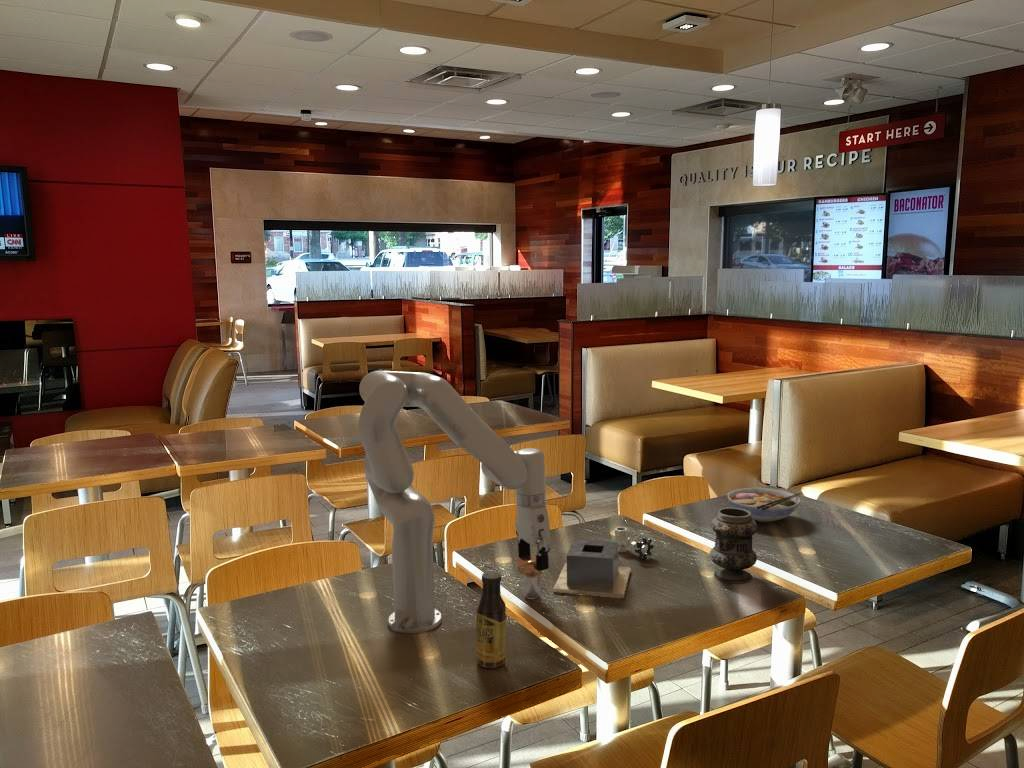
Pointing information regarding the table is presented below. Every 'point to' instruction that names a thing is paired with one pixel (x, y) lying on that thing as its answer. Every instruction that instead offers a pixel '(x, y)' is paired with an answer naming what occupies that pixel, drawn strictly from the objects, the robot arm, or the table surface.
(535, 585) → the pin
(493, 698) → the table surface
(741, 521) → the apothecary jar
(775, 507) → the ramen bowl
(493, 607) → the sauce bottle
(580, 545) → the block
